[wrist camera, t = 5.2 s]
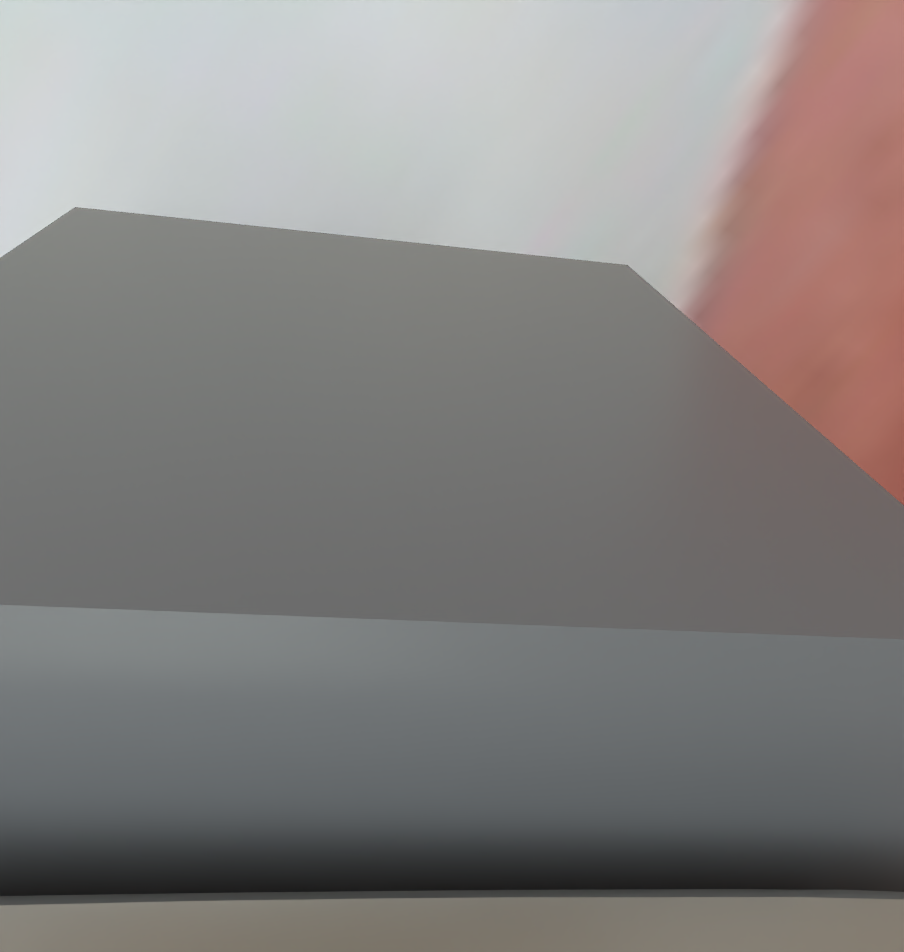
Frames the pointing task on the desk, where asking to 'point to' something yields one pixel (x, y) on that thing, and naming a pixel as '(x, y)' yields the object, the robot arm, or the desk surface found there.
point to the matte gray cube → (422, 581)
